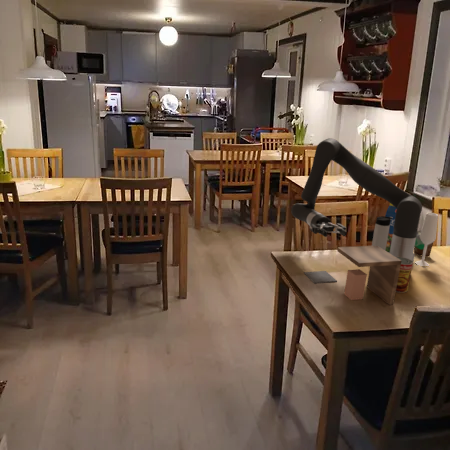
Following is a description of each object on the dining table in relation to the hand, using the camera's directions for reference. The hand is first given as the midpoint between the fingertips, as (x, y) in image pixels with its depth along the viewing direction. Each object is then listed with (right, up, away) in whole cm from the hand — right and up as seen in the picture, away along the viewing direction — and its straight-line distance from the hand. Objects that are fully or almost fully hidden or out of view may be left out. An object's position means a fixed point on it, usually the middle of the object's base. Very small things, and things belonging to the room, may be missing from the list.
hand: (336, 234), depth 183 cm
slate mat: (-6, -18, +4) cm, 19 cm away
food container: (+50, -10, +39) cm, 64 cm away
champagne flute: (+46, -14, +25) cm, 54 cm away
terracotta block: (+4, -23, -11) cm, 26 cm away
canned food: (+24, -22, -2) cm, 32 cm away
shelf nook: (+7, -23, -11) cm, 27 cm away
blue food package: (+38, -10, +38) cm, 55 cm away
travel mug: (+27, -12, +30) cm, 41 cm away
